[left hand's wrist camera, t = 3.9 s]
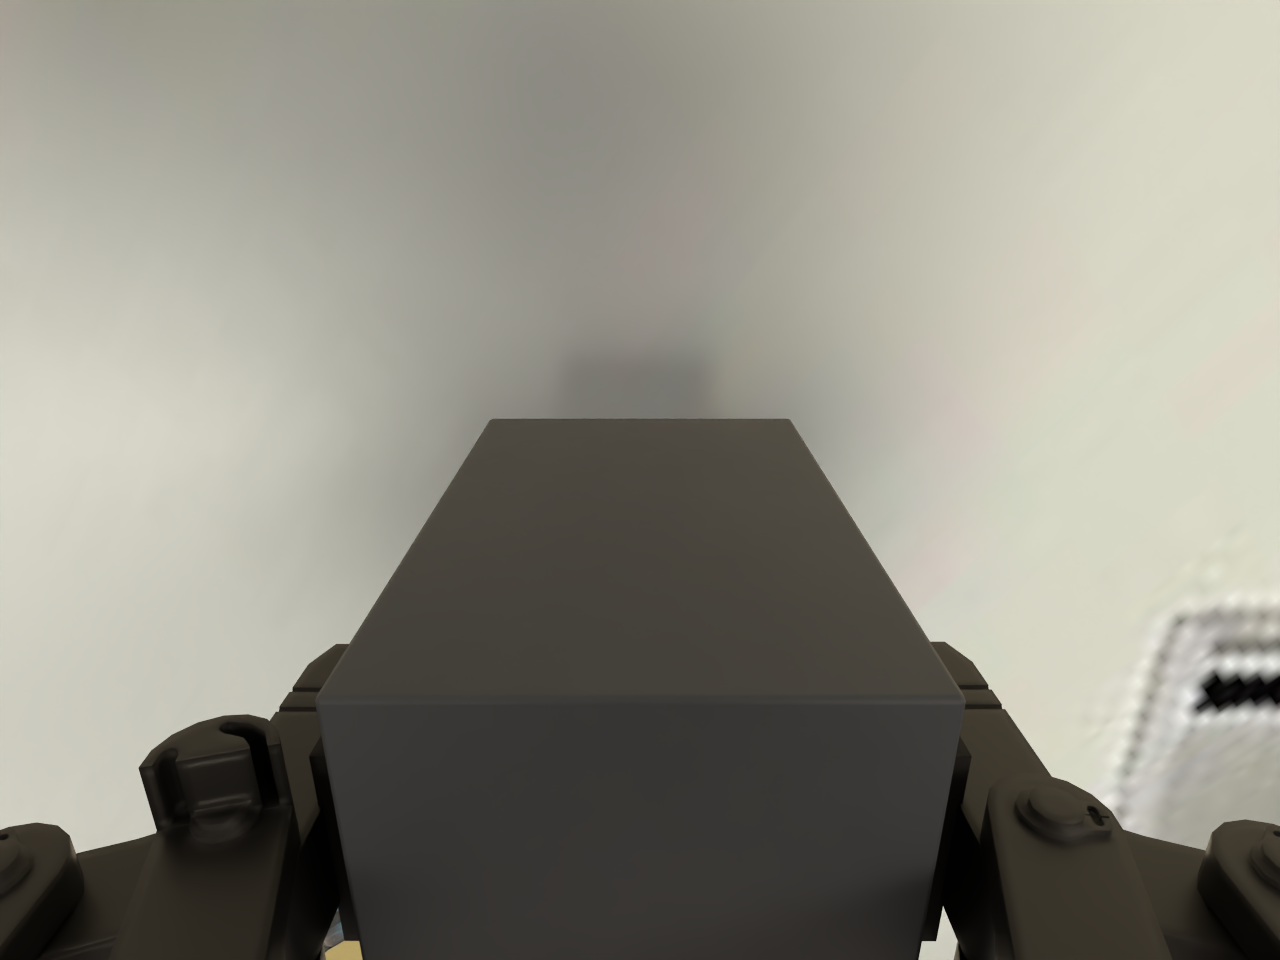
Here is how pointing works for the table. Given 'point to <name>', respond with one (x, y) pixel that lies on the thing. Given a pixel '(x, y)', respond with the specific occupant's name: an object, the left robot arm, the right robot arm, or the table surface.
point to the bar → (640, 711)
